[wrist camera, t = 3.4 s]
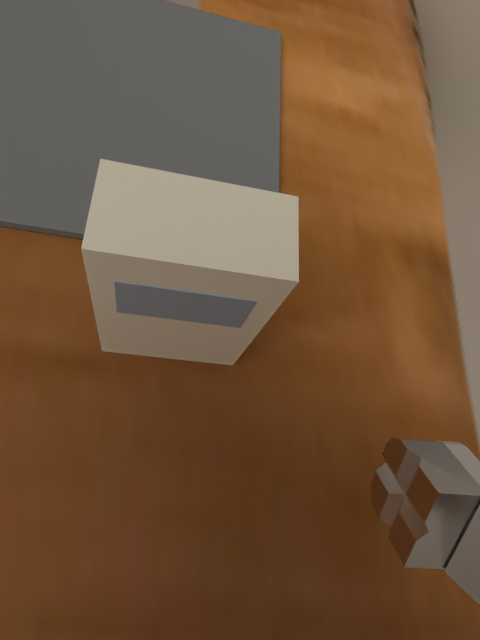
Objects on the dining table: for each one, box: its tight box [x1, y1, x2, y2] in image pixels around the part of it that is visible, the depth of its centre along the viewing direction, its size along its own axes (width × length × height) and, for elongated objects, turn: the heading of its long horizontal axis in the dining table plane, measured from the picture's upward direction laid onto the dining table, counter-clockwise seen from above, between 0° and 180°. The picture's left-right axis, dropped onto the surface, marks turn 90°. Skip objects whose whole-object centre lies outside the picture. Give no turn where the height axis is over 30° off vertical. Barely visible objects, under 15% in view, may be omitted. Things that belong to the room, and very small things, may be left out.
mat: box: [0, 0, 281, 239], centre depth 24 cm, size 20×18×1 cm
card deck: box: [81, 159, 299, 366], centre depth 17 cm, size 6×3×9 cm, turn 87°
